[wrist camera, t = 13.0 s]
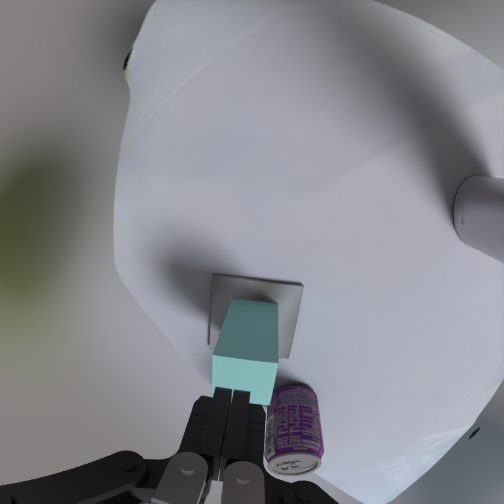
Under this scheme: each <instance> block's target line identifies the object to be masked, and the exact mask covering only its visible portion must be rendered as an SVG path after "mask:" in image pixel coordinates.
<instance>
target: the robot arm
mask: <svg viewBox="0 0 504 504" xmlns="http://www.w3.org/2000/svg"><path fill="white" fill-rule="evenodd" d="M453 215H454V224H455V229H456V231H457V234H458V236H459V237H460V239H461V240H462V241H463V242H464V243H465V244H467V245H468V246H470V247H472V248H475V249H477V250H479V251H481V252H483V253H484V254H486V255H488V256H490V257H492V258H494V259H496V260H498V261H500V262H502V263H504V179H501V178H493V177H483V176H472V177H470V178H468V179H466V180H465V181H464V182H463V183H462V185H461V186H460V188H459V190H458V192H457V195H456V198H455V202H454V211H453ZM232 390H233V389H229V388H223V387H217V386H216V387H215V390H214V394H213V397H207V396H201V397H200V398H199V399H198V400H197V401H196V402H195V403H194V405H193V408H192V411H191V415H190V418H189V421H188V423H187V426H186V429H185V433H184V435H183V439H182V442H181V445H180V448H179V450H178V451H177V453H176V454H175V455H173V456H171V457H170V458H167V459H160V460H156V459H144V458H143V457H142V456H140V455H139V454H138V453H136V452H133V451H120V452H117V453H114V454H112V455H110V456H107V457H104V458H101V459H99V460H96V461H93V462H90V463H88V464H85V465H82V466H79V467H76V468H73V469H69V470H66V471H63V472H59V473H56V474H52V475H49V476H45V477H41V478H37V479H32V480H29V481H23V482H18V483H13V484H7V485H2V486H0V504H205V503H206V500H207V497H208V494H209V492H210V487H211V482H212V480H215V481H217V480H218V475H219V470H220V477H219V481H222V482H223V486H222V495H221V504H339V503H338V502H336V501H335V500H334V499H333V498H331V497H330V496H329V495H328V494H327V493H326V492H325V491H323V490H322V489H321V488H320V487H319V486H318V485H316V484H314V483H313V482H310V481H296V482H293V483H289V482H286V481H283V480H280V479H277V478H274V477H273V476H271V475H270V474H269V473H268V472H267V471H266V469H265V468H264V464H263V455H264V439H265V420H266V413H265V411H264V409H263V407H262V405H261V404H253V403H249V402H250V393H251V391H243V390H236V389H234V391H233V397H232ZM231 400H232V402H231Z"/></svg>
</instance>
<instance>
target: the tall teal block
mask: <svg viewBox="0 0 504 504" xmlns="http://www.w3.org/2000/svg"><path fill="white" fill-rule="evenodd" d="M277 368H278V303H269V302H260V301H252V300H243V299H236V298H232V299H231V302H230V305H229V308H228V311H227V314H226V317H225V320H224V323H223V326H222V328H221V331H220V334H219V337H218V340H217V343H216V346H215V349H214V352H213V355H212V397H213V394H214V390H215V387H216V386H217V387H223V388H229V389H233V390H232V397H233V391H234V389H236V390H243V391H251V393H250V402H249V403H253V404H261V405H270V401H271V397H272V392H273V387H274V383H275V378H276V373H277ZM231 401H232V400H231Z"/></svg>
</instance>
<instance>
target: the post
mask: <svg viewBox="0 0 504 504" xmlns="http://www.w3.org/2000/svg"><path fill="white" fill-rule="evenodd" d="M302 292H303V285H299V284H290V283H281V282H273V281H265V280H256V279H248V278H241V277H233V276H225V275H218V274H213V278H212V297H211V321H210V349H215V346H216V343H217V340H218V337H219V334H220V331H221V328H222V326H223V323H224V320H225V317H226V314H227V311H228V308H229V305H230V302H231V299H232V298H236V299H243V300H252V301H260V302H269V303H278V358H287V359H289V355H290V351H291V346H292V342H293V337H294V332H295V328H296V323H297V318H298V313H299V308H300V303H301V298H302Z"/></svg>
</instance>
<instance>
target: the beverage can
mask: <svg viewBox="0 0 504 504" xmlns="http://www.w3.org/2000/svg"><path fill="white" fill-rule="evenodd" d="M323 453H324V446H323V438H322V429H321V422H320V414H319V407H318V399H317V395H316V394H315V392H314V391H312V390H311V389H309V388H307V387H303V386H286V387H283V388H280V389H278V390H276V391H275V392H273V393H272V397H271V401H270V405H267V422H266V438H265V454H264V455H265V458H266V460H267V461H268V469H269V470H270V471H271V472H273V473H275V474H278V475H282V476H300V475H305V474H308V473H311V472H313V471H315V470H317V469H318V468H319V467H320V466H321V458H322V456H323Z"/></svg>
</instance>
